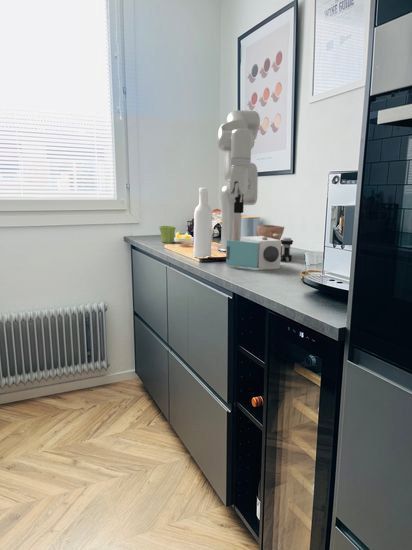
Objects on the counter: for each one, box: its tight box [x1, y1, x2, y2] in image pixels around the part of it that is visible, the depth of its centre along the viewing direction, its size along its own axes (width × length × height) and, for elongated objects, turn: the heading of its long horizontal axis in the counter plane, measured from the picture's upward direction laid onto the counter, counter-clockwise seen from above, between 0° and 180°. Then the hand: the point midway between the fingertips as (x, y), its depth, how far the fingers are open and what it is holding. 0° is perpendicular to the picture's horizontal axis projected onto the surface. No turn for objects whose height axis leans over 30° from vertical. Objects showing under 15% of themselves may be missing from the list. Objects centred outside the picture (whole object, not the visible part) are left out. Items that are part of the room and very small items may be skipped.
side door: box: [225, 240, 260, 269], centre depth 158 cm, size 14×1×10 cm, turn 61°
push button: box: [280, 237, 294, 263], centre depth 175 cm, size 7×5×10 cm
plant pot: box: [158, 225, 177, 244], centre depth 225 cm, size 9×9×9 cm
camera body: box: [240, 235, 282, 271], centre depth 163 cm, size 16×10×12 cm, turn 26°
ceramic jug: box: [256, 224, 285, 255], centre depth 185 cm, size 18×14×14 cm
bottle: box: [192, 187, 213, 257], centre depth 179 cm, size 8×8×30 cm
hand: (238, 212), depth 159 cm, fingers closed
